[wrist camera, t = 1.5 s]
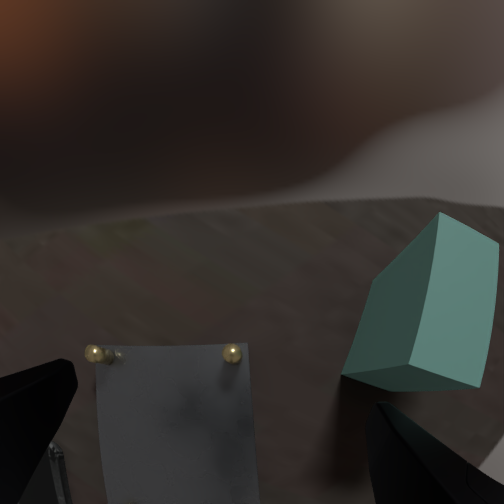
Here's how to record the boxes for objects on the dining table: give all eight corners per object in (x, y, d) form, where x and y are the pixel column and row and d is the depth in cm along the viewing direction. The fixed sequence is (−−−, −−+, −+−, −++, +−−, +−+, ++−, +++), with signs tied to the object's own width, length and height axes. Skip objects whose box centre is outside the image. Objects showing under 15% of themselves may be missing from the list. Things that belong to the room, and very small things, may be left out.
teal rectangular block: (390, 391, 21) (479, 387, 11) (340, 374, 21) (408, 364, 11) (417, 298, 24) (498, 243, 13) (373, 280, 24) (439, 211, 14)
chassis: (262, 527, 16) (263, 547, 13) (116, 517, 16) (98, 532, 13) (247, 344, 22) (246, 338, 19) (101, 346, 22) (80, 339, 19)
